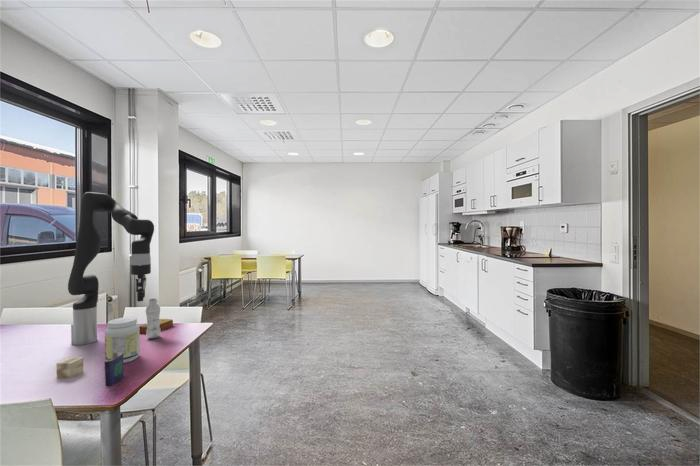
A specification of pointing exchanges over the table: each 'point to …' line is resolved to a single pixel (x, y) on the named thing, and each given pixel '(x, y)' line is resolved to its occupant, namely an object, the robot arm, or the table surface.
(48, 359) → the table surface
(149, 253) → the robot arm
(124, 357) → the supplement tub
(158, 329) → the plastic bottle
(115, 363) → the flask
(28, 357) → the table surface
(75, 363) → the beech cube
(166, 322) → the carton
